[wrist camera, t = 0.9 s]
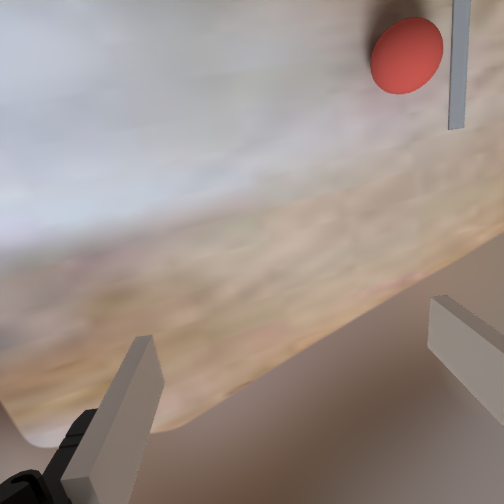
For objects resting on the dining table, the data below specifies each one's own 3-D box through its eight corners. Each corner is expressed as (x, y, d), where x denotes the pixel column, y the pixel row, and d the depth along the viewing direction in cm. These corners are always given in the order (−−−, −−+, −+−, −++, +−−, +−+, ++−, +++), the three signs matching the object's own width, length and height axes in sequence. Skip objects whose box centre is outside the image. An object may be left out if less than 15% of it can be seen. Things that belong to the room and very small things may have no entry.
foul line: (454, -28, 30) (455, -29, 29) (470, -30, 30) (472, -31, 29) (448, 130, 34) (449, 129, 34) (462, 127, 34) (464, 127, 34)
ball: (359, 37, 31) (387, 10, 25) (420, 27, 31) (461, -1, 25) (362, 103, 33) (388, 92, 27) (419, 94, 33) (457, 81, 27)
